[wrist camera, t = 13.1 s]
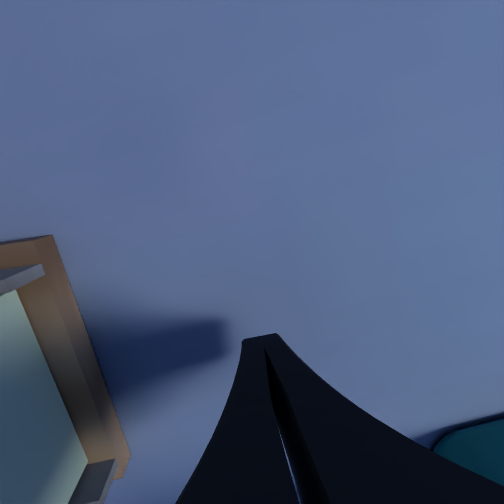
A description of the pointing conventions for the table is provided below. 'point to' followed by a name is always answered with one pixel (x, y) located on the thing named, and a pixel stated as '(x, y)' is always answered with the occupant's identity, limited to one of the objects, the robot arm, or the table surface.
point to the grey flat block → (32, 419)
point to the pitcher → (477, 449)
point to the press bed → (67, 359)
